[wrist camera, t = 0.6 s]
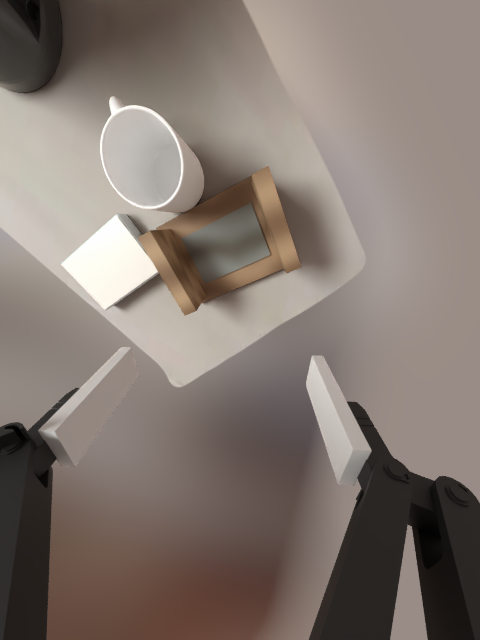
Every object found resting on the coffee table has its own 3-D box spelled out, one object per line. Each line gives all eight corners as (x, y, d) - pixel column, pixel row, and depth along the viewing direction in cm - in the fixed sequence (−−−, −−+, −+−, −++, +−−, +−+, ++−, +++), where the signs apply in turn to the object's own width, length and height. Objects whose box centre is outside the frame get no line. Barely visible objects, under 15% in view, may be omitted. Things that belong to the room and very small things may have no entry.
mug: (167, 99, 27) (119, 31, 17) (216, 192, 31) (200, 179, 21) (120, 142, 29) (54, 103, 19) (172, 224, 33) (139, 225, 24)
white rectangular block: (72, 261, 37) (59, 264, 34) (126, 214, 33) (116, 213, 31) (113, 305, 40) (104, 311, 38) (167, 267, 36) (161, 271, 34)
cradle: (159, 228, 34) (132, 229, 26) (262, 171, 30) (265, 155, 22) (200, 302, 39) (188, 321, 31) (292, 262, 35) (303, 274, 27)
